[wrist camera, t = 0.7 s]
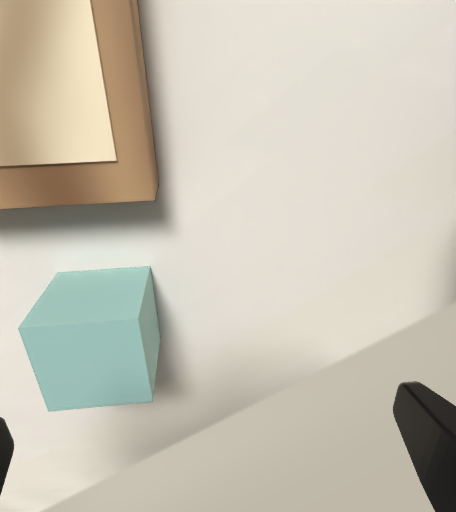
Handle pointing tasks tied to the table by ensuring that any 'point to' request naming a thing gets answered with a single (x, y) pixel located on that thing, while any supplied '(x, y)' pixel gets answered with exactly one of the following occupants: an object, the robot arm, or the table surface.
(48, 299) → the teal cube
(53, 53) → the base slab
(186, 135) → the table surface
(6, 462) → the robot arm
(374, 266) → the table surface
